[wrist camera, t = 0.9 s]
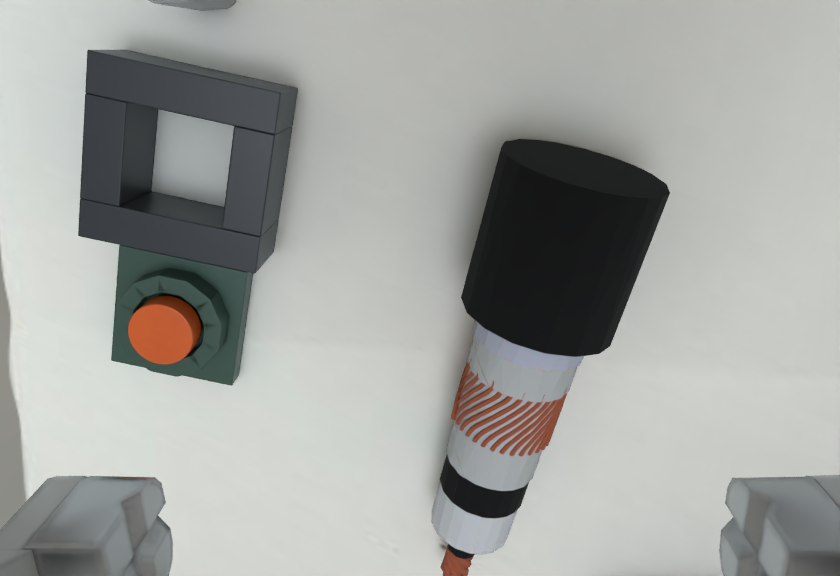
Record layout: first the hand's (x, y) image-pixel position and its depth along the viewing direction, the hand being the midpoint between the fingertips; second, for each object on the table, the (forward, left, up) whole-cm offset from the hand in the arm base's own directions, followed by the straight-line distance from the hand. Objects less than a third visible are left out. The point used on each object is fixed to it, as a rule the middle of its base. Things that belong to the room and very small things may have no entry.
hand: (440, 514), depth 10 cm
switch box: (+16, -16, -39) cm, 45 cm away
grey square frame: (+4, -16, -39) cm, 42 cm away
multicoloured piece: (+15, +8, -39) cm, 42 cm away
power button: (+16, -16, -36) cm, 42 cm away
